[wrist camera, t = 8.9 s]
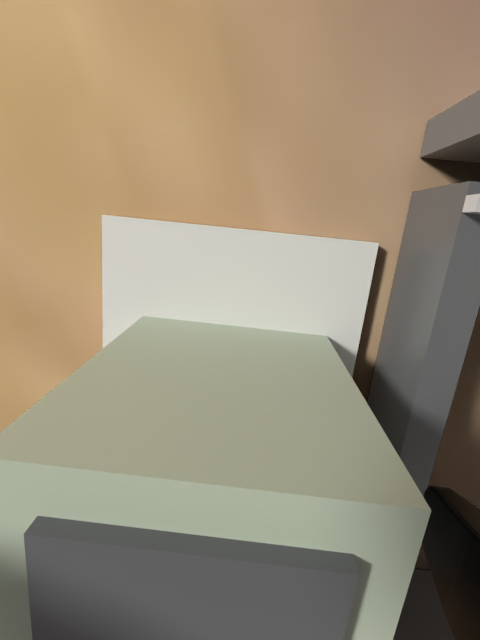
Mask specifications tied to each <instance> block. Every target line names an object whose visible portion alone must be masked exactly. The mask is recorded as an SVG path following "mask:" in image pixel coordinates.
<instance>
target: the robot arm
mask: <svg viewBox="0 0 480 640" xmlns="http://www.w3.org/2000/svg"><path fill="white" fill-rule="evenodd" d="M423 497H424V499H425V501H426V502H427V504H428V506H429V507H430V509H431V514H430V517H429V520H428V524H427V527H426V530H425V534H424V537H423V540H422V545H423V548H424V552H425V555H426V558H427V561H428V565H429V568H430V571H431V574H432V577H433V581H434V584H435V587H436V590H437V594H438V597H439V600H440V603H441V606H442V609H443V612H444V615H445V618H446V620H447V623H448V625H449V628H450V630H451V633H452V635H453V638H454V640H480V509H479V508H477V507H476V506H475V505H473V504H472V503H470V502H469V501H467V500H466V499H464V498H463V497H462V496H460V495H459V494H457V493H456V492H454V491H453V490H451V489H449V488H446V487H437V486H429V487H427V488H426V490H425V492H424V496H423Z"/></svg>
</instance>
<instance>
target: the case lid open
mask: <svg viewBox="0 0 480 640" xmlns="http://www.w3.org/2000/svg"><path fill="white" fill-rule="evenodd" d="M420 157H421V158H432V159H442V160H453V161H463V162H473V163H480V90H479V91H477V92H476V93H474V94H472V95H471V96H469V97H467V98H465V99H464V100H462V101H460V102H459V103H457V104H455V105H454V106H452V107H450V108H449V109H447V110H445V111H444V112H442V113H440V114H439V115H437V116H435V117H434V118H432V119H430V120H429V121H428V123H427V127H426V132H425V136H424V141H423V146H422V150H421V155H420Z"/></svg>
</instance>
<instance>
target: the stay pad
mask: <svg viewBox="0 0 480 640" xmlns="http://www.w3.org/2000/svg"><path fill="white" fill-rule="evenodd" d="M378 246H379V243H376V242H367V241H357V240H347V239H338V238H328V237H318V236H308V235H298V234H288V233H278V232H269V231H259V230H249V229H239V228H229V227H219V226H209V225H200V224H190V223H180V222H170V221H160V220H150V219H141V218H131V217H121V216H111V215H102V285H103V348H104V347H105V346H107V345H108V344H109V343H110V342H112V341H113V340H114V339H115V338H116V337H118V336H119V335H120V334H121V333H123V332H124V331H125V330H126V329H128V328H129V327H130V326H131V325H132V324H134V323H135V322H136V321H137V320H139V319H140V318H141V317H142V316H148V317H157V318H167V319H176V320H185V321H194V322H204V323H213V324H222V325H231V326H241V327H250V328H259V329H268V330H278V331H287V332H296V333H305V334H315V335H324V336H327V337H328V339H329V340H330V342H331V344H332V345H333V347H334V349H335V350H336V352H337V354H338V355H339V357H340V359H341V360H342V362H343V364H344V365H345V367H346V369H347V370H348V372H349V374H350V375H351V377H352V376H353V371H354V366H355V361H356V356H357V351H358V346H359V341H360V336H361V331H362V326H363V321H364V316H365V311H366V306H367V301H368V296H369V291H370V286H371V281H372V276H373V271H374V266H375V261H376V256H377V251H378Z"/></svg>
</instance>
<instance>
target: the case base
mask: <svg viewBox="0 0 480 640" xmlns="http://www.w3.org/2000/svg"><path fill="white" fill-rule="evenodd" d="M479 307H480V182H476V181H467V182H462V183H457V184H452V185H446V186H441V187H436V188H431V189H426V190H421V191H415V192H412V197H411V201H410V206H409V211H408V215H407V220H406V224H405V229H404V234H403V238H402V243H401V248H400V252H399V257H398V261H397V266H396V271H395V275H394V280H393V285H392V289H391V294H390V299H389V303H388V308H387V312H386V317H385V322H384V326H383V331H382V336H381V340H380V345H379V349H378V354H377V359H376V363H375V368H374V373H373V377H372V382H371V387H370V391H369V396H368V400H367V404H368V405H369V407H370V409H371V410H372V412H373V414H374V415H375V417H376V419H377V420H378V422H379V424H380V425H381V427H382V429H383V430H384V432H385V434H386V435H387V437H388V439H389V440H390V442H391V444H392V446H393V447H394V449H395V451H396V452H397V454H398V456H399V457H400V459H401V461H402V462H403V464H404V466H405V467H406V469H407V471H408V472H409V474H410V476H411V477H412V479H413V481H414V482H415V484H416V486H417V487H418V489H419V491H420V492H421V494H422V496H424V492H425V490H426V488H427V487H428V484H429V480H430V477H431V473H432V470H433V467H434V463H435V460H436V456H437V453H438V449H439V446H440V442H441V439H442V435H443V432H444V428H445V425H446V421H447V418H448V414H449V411H450V408H451V404H452V401H453V397H454V394H455V390H456V387H457V383H458V380H459V376H460V373H461V369H462V366H463V362H464V359H465V355H466V352H467V348H468V345H469V342H470V338H471V335H472V331H473V328H474V324H475V321H476V317H477V314H478V310H479ZM393 640H454V638H453V635H452V633H451V630H450V628H449V625H448V623H447V620H446V618H445V615H444V612H443V609H442V606H441V603H440V600H439V597H438V594H437V590H436V587H435V584H434V581H433V577H432V574H431V571H426V570H418V569H414V571H413V574H412V577H411V581H410V584H409V587H408V591H407V594H406V597H405V601H404V604H403V607H402V611H401V614H400V618H399V621H398V624H397V628H396V631H395V634H394V638H393Z"/></svg>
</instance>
